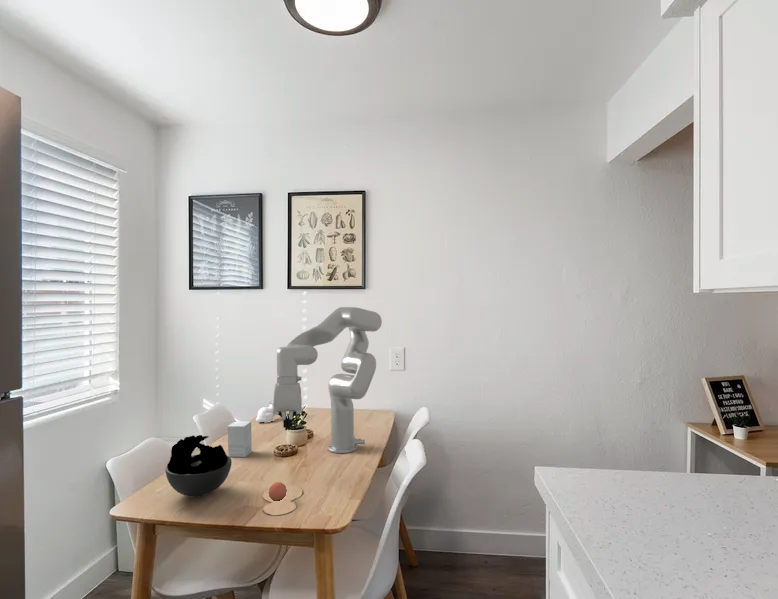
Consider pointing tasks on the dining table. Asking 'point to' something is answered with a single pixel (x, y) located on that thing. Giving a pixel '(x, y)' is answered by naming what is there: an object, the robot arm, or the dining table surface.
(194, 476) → the coal bowl
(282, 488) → the ball
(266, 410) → the rabbit
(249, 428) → the supplement box
